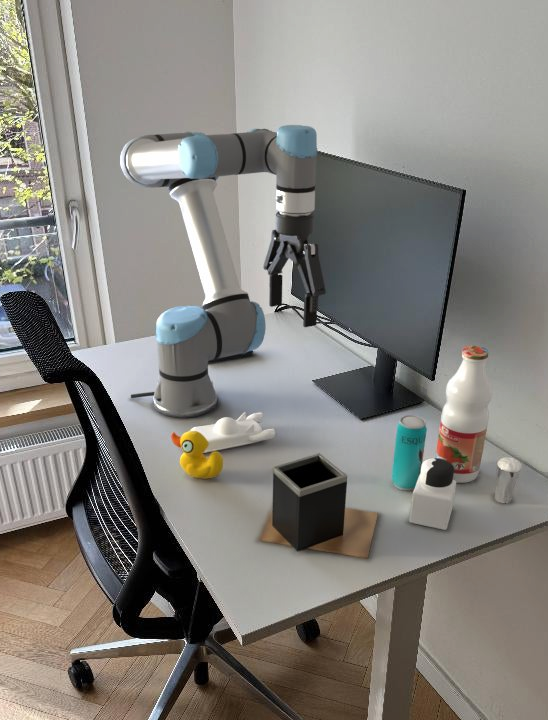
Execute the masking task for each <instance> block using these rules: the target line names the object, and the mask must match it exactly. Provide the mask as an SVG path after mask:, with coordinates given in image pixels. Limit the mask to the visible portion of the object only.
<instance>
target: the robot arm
mask: <svg viewBox="0 0 548 720" xmlns="http://www.w3.org/2000/svg"><path fill="white" fill-rule="evenodd" d="M276 131H277V132H275V131H272V130H270V129H267V128H252V129H250V130H248V131H247V132H234V133H219V134H218V133H217V134H205V133H204V132H199V131H197V132H196V131H195V132H193V131H184V132H173V133H171V132H170V133H158V134H157V133H156V134H143V135H141V136H137V137H134V138H132V139H131V140H129V141H128V142H127V143H126V144H125V145H124V146H123V148H122V150H121V152H120V157H119V163H120V169H121V171H122V173H123V175H124V177H126V179H127V180H128V181H130V182H131V183H133V184H134V185H136V186H140V187H144V188H149V189H150V188H152V189H153V188H167V189H168V193H169V196H170V198H171V199H172V200H175V201H176V202H178V206H179V208H180V213H181V215H182V219H183V222H184V226H185V229H186V232H187V237H188V240H189V244H190V247H191V250H192V253H193V258H194V261H195V264H196V268H197V271H198V274H199V279H200V282H201V285H202V289H203V292H204V296H205V298H204V301H203V303H202V304H201V306H198V305H191V304H190V305H181V306H175V307H172V308H170V309H167V310H166V311H164V312H162V313H161V314H160V315H159V317H158V318H157V320H156V326H155V327H156V329H155V339H156V347H157V361H158V379H157V383H156V387H155V389H154V391H149V392H140V393H139V392H138V393H133V394H130V398H131V399H137V398H145V397H152V396H153V397H152V399H153V408H154V409H155V410H156V411H157V412H158V413H160V414H162V415H163V416H164V415H165V416H167V417H172V418H186V419H187V418H195V417H200V416H203V415H205V414H207V413H210V412H211V411H213V410H214V409H215V408H216V406H217V403H218V402H217V399H218V398H217V393H216V390H215V388H214V383H213V381H212V380H211V377H210V375H209V363H208V361H210V360H214V359H219V358H223V357H227V356H232V355H236V354H244V353H246V352H248V351H252V350H253V351H254V350H255V351H256V350H257V349H258V348H259V347H260V346H261V345H262V343H263V342H264V339H265V335H266V329H267V328H266V317H265V313H264V310H263V308H262V306H260V304H259V303H258V302H256V301H252V300H251V299H250V295H249V293H248V292H247V291H245V290H243V289H242V288H241V286H240V284H239V280H238V277H237V272H236V269H235V266H234V262H233V259H232V256H231V255H232V254H231V252H230V248H229V244H228V241H227V238H226V234H225V230H224V226H223V224H222V223H223V222H222V219H221V216H220V213H219V208H218V205H217V202H216V199H215V195H214V191H215V189H216V187H217V185H218V183H217V180H218V179H219V178H220V177H227V176H237V175H248V174H249V175H250V174H258V173H268V174H272V175H276V177H275V178H276V179H275V181H276V182H275V183H276V184H275V188H276V196H275V201H276V203H275V209H276V210H277V212H276V213H275V229H272V230H271V237H270V243H269V245H268V249H267V252H266V255H265V259H264V262H263V266H262V267H263V270H264V271H267V275H268V276H269V285H268V286H269V303H268V304H269V305H268V306H269V307H270V308H273V307H278V306H283V275H282V274H283V269H284V267H285V266H286V264H287V262H288V261H289V260H290V261H291V262H293V264H294V266H296V267H297V269H298V272H299V275H300V278H301V281H302V283H303V284H302V285H303V287H304V290H305V294H304V295H303V317H302V318H303V321H302V326H303V327H304V328H308V327H309V328H310V327H314V326H317V318H318V310H319V296H323V295H326V294H327V293H326V292H327V291H326V286H325V281H324V276H323V271H322V266H321V262H320V257H319V244H318V243H310V242H309V236H310V235H312V233H314V229H315V214H314V213H313V212H314V211H315V210H316V208H315V207H316V178H317V159H318V151H319V150H318V147H317V146H318V145H317V142H318V141H317V138H318V137H317V135H318V134H317V131H316V129H315V128H314V127H312V126H308V125H301V124H286V125H285V124H284V125H281V126H279V127H278V128H277V130H276Z"/></svg>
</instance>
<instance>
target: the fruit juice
mask: <svg viewBox="0 0 548 720" xmlns="http://www.w3.org/2000/svg"><path fill="white" fill-rule="evenodd" d="M461 358H462V361H461V363H460V365H459V367H458V369H457V371H456V372H455V373H454V375H453V376H452V377H451V378H450V379H449V380H448V381H447V384H446V387H445V398H446V402H445V403H444V405H443V407H442V411H441V416H440V422H439V430H438V436H437V437H438V438H437V445H436V451H435V457H434V458H438V459H443V460H446V461H448V462H450V463H451V464H452V465H453V467H454V475H453V480H455V481H456V484H464V483H470V482H473V481H475V480H476V479H477V477H478V476H479V473H480V470H481V469H480V468H481V464H482V460H483V459H482V458H483V452H484V446H485V442H486V436H487V430H488V425H489V419H490V413H489V409H488V408H489V404H490V402H491V401H492V398H493V393H494V392H493V391H494V390H493V385H492V384H491V382H490V380H489V379H488V376H487V370H486V362H487V360H488V359H489V350H488V349H487V348H485V347H484V346H481V345H466V346H464V347H463V348H462V352H461Z"/></svg>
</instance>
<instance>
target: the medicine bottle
mask: <svg viewBox="0 0 548 720" xmlns="http://www.w3.org/2000/svg"><path fill="white" fill-rule="evenodd" d="M453 475H454V467H453V465H452V464H451V463H450V462H448V461H446V460H443V459H438V458H435V457H433V458H428V459H425V460H424V461H422V466H421V474H420V475H419V478H418V480H417V483H416V486H415V489H413V490H412V491H413V492H412V497H411V505H410V513H409V519H408V521H409V523H411V524H415V525H419V526H426V527H428V528H429V527H430V528H433V529H437V530H443V531H446V530H447V529H448V526H449V523H450V518H451V516H452V512H453V507H454V506H453V505H454V500H455V494H456V487H457V483H456V481H455V480H453Z"/></svg>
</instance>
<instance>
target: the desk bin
mask: <svg viewBox="0 0 548 720" xmlns="http://www.w3.org/2000/svg"><path fill="white" fill-rule="evenodd" d="M347 487H348V475H347V474H346V473H345V472H343V471H342V470H341V469H340V468H339V467H337V466H336V465H335V464H334V463H332V461H330V460H329V459H327V458H326V457H325V456H324V455H322V454H321V453H320V452H318V453H316V454H311V455H309V456H305V457H302V458H300V459H295V460H292V461H289V462H286V463H282V464H279V465H275V466H273V467H272V510H271V512H272V526H273V527H274V528H275V529H276V530H277V531H278V532H279V533H280V534H281V535H282V536H283V537H284V538H285V539H286V540H287V541H288V542H289V543H290V544H291V545H292V546H291V547H292V548H294V550H295V551H296V552H300V551H303V550H306V549H307V548H309V547H311V546H314V545H317V544H320V543H322V542H325V541H328V540H331V539H333V538H336V537H339V536H341V535H343V530H344V517H345V508H346V503H347V501H346V500H347V490H348V489H347Z"/></svg>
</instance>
